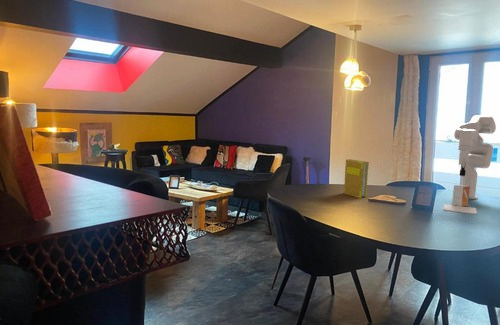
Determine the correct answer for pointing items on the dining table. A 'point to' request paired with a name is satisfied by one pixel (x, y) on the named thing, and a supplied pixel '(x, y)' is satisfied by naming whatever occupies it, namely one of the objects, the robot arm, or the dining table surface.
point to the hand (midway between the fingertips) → (462, 175)
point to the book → (356, 178)
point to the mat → (460, 209)
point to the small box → (460, 195)
